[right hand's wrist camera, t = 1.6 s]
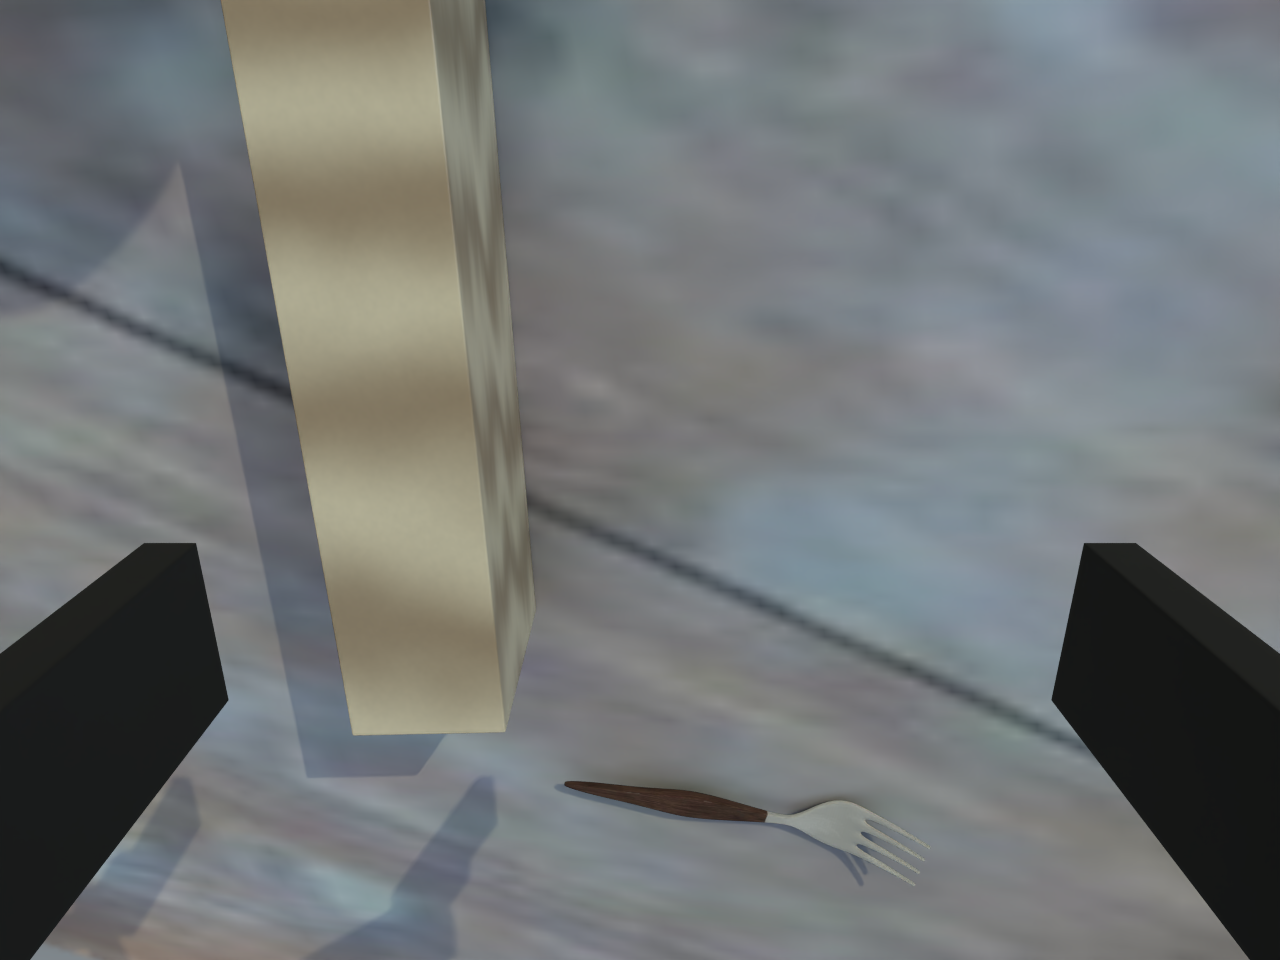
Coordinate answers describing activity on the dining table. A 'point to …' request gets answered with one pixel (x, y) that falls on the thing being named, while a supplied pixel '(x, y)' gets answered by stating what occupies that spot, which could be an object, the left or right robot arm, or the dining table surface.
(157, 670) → the right robot arm
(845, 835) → the fork
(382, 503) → the plank
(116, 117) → the dining table surface
